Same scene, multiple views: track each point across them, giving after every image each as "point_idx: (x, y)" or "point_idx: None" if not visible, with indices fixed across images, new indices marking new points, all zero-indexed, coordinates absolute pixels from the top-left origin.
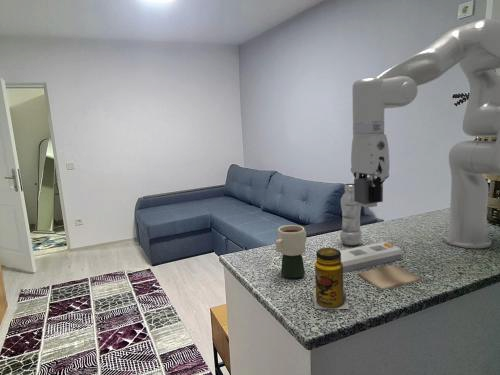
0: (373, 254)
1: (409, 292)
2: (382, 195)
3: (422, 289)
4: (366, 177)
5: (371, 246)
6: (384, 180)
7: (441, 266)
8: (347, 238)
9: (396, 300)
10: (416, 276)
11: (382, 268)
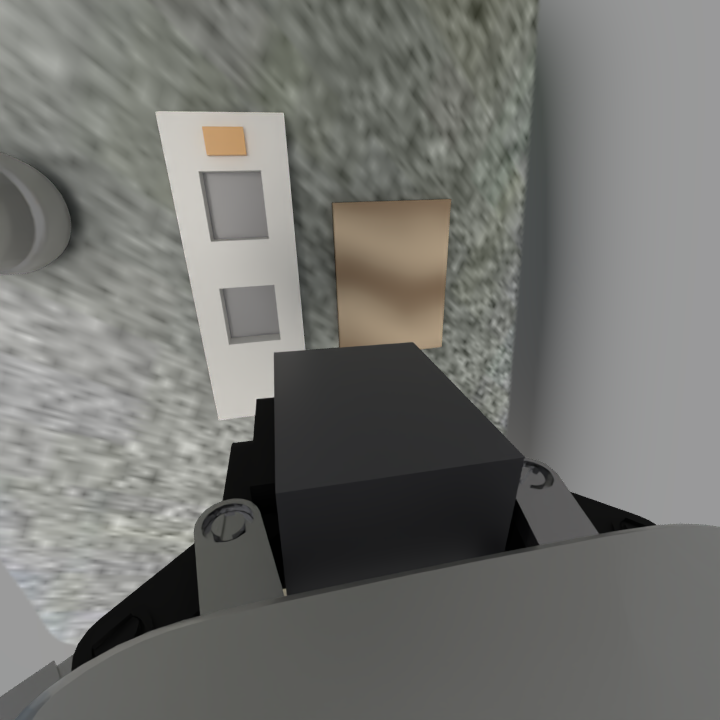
0: (292, 272)
1: (480, 287)
2: (433, 365)
3: (486, 243)
4: (271, 562)
5: (202, 221)
6: (643, 520)
7: (405, 20)
8: (47, 261)
9: (489, 341)
10: (436, 205)
11: (343, 267)
